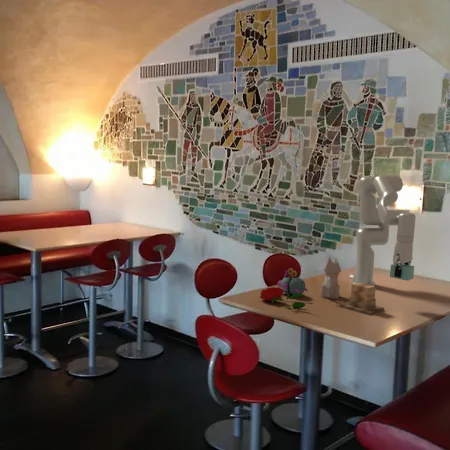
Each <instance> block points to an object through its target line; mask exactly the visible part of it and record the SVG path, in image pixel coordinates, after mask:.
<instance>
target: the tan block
mask: <svg viewBox="0 0 450 450" xmlns="http://www.w3.org/2000/svg"><path fill="white" fill-rule="evenodd" d="M350 288H351V291H350V296H351V297H354V298H358V299H362V300H366V301H369V300H372V299H376V285H375V286H372V285H368V284H364V283H355V284H352V283H351V287H350Z"/></svg>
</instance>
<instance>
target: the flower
mask: <svg viewBox="0 0 450 450" xmlns="http://www.w3.org/2000/svg"><path fill="white" fill-rule="evenodd" d="M284 293H285V292H284V290H283V289H282V288H280V287H279V286H277V287H268V288H265V289H262V290H261V292H260V296H259V298H260V299H262V300H263V301H269V302H270V303H269V304H270V305H271V304H274V302H276V301H278V302H284V303H290V300H289V299H291V300H292V302H291V305H290V304H289V305H288V306H287V307H286V309H287V310H289V309H290V307H291V306H292V308H293V309H301V308H304V307H306V303H305V302H304V301H303V302H302V301H294V299H296V298H301V297H303V296H304V294H303V293H302V294H294V295H293V294H291V296H290V293H289V294H287V296H286V301H285V300H284V299H283V297H284V295H283V294H284ZM288 300H289V301H288ZM310 304H311V305H313V304H314V303H313V302H308V305H310Z"/></svg>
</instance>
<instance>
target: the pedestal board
mask: <svg viewBox="0 0 450 450" xmlns="http://www.w3.org/2000/svg"><path fill="white" fill-rule="evenodd" d="M376 303H377V298H375V299H372V300H369V301H366V300H362V299H358V298H354V297H351V295H350V296H349V298H348V301H347V302H344V303H340V308H343V309H346V310H350V311H353V310H354V312H357V311H358V313H362V314H364V315H367V316H368V315H369V316H370V315H374V314H377V313H379V311H380V312H382V310H383V311H384V310H385V307H383V306H379V305H376Z"/></svg>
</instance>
